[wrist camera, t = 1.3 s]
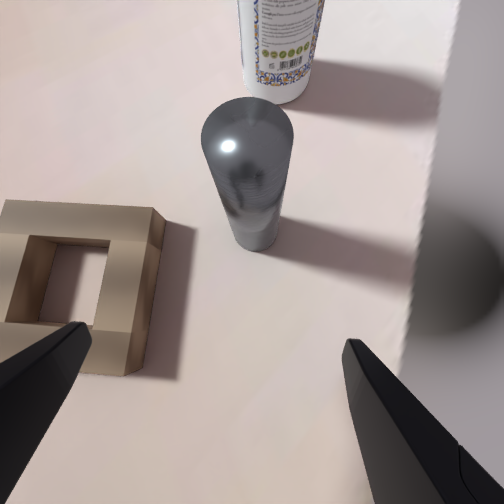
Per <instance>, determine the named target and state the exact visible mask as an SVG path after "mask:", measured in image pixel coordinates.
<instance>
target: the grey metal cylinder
mask: <svg viewBox="0 0 504 504" xmlns="http://www.w3.org/2000/svg"><path fill="white" fill-rule="evenodd" d="M293 138H294V135H293V127H292V124H291V122H290V120H289V118H288V116H287V115H286V113H285V112H284V111H283V110H282V109H281V108H280V107H278V106H277V105H275V104H274V103H272V102H270V101H268V100H265V99H261V98H256V97H242V98H237V99H233V100H230V101H227V102H225V103H223V104H222V105H220V106H219V107H217V108H216V109H215V110H214V111H213V112H212V113H211V114H210V115H209V117H208V118H207V119H206V121H205V123H204V126H203V128H202V133H201V145H202V149H203V152H204V155H205V157H206V160H207V163H208V166H209V168H210V171H211V174H212V177H213V179H214V182H215V185H216V187H217V190H218V193H219V196H220V198H221V201H222V204H223V207H224V209H225V212H226V215H227V217H228V220H229V223H230V226H231V228H232V231H233V234H234V237H235V239H236V241H237V243H238V244H239V245H240V246H241V247H243V248H244V249H246V250H249V251H261V250H264V249H266V248H268V247H269V246H270V245H271V244H272V243H273V242H274V240H275V238H276V235H277V230H278V224H279V219H280V213H281V207H282V202H283V196H284V190H285V185H286V179H287V173H288V168H289V162H290V156H291V151H292V145H293Z"/></svg>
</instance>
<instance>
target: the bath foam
mask: <svg viewBox="0 0 504 504" xmlns="http://www.w3.org/2000/svg"><path fill="white" fill-rule="evenodd" d="M324 2H325V0H237V10H238V22H239V35H240V47H241V59H242V69H243V79H244V84H245V86H246V88H247V90H248V92H249V93H250V94H251V95H252V96H253V97H256V98H261V99H265V100H268V101H270V102H272V103H274V104H283V103H287V102H290V101H292V100H294V99H295V98H297V97H298V96H299V95H300V94H301V93H302V92H303V91H304V90H305V88H306V86H307V84H308V81H309V77H310V72H311V67H312V62H313V57H314V52H315V47H316V42H317V37H318V32H319V27H320V22H321V17H322V12H323V7H324Z"/></svg>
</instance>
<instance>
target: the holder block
mask: <svg viewBox="0 0 504 504" xmlns="http://www.w3.org/2000/svg"><path fill="white" fill-rule="evenodd" d="M165 224H166V220H165V219H164V218H163V217H162V216H161V215H160V214H159V213H158V212H157V211H156V210H155V209H154V208H153V207H136V206H118V205H99V204H80V203H62V202H43V201H25V200H5V203H4V206H3V209H2V212H1V216H0V363H1V362H3V361H4V360H6V359H8V358H10V357H11V356H13V355H15V354H17V353H18V352H20V351H22V350H23V349H25V348H27V347H29V346H30V345H32V344H34V343H35V342H37V341H39V340H41V339H42V338H44V337H46V336H48V335H49V334H51V333H53V332H54V331H56V330H58V329H60V328H61V327H63V326H65V325H66V324H67V323H54V322H42V321H38V318H39V314H40V310H41V306H42V302H43V298H44V294H45V290H46V286H47V283H48V279H49V275H50V271H51V267H52V263H53V259H54V255H55V251H56V248H57V244H60V245H76V246H92V247H108V248H109V251H108V256H107V261H106V266H105V271H104V275H103V280H102V285H101V290H100V295H99V299H98V304H97V309H96V314H95V319H94V323H93V326H91V325H87V327H88V329H89V332H90V334H91V336H92V344H91V347H90V349H89V351H88V353H87V356H86V358H85V360H84V362H83V364H82V366H81V369H80V371H79V372H81V373H92V374H103V375H114V376H125V375H128V374H130V373H132V372H134V371H137V370H139V369H141V368H143V362H144V355H145V349H146V343H147V336H148V330H149V324H150V318H151V311H152V305H153V299H154V293H155V286H156V280H157V274H158V268H159V261H160V255H161V249H162V242H163V236H164V230H165Z"/></svg>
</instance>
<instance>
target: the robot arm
mask: <svg viewBox="0 0 504 504" xmlns="http://www.w3.org/2000/svg"><path fill="white" fill-rule="evenodd" d="M91 344H92V336H91V334H90V332H89V329H88V327H87V325H86V323H84V322H76V321H74V322H70V323H68V324H66V325H65V326H63V327H61V328H60V329H58V330H56V331H54V332H53V333H51V334H49V335H48V336H46V337H44V338H42V339H41V340H39V341H37V342H35V343H34V344H32V345H30V346H29V347H27V348H25V349H23V350H22V351H20V352H18V353H17V354H15V355H13V356H11V357H10V358H8V359H6V360H4V361H3V362H1V363H0V504H5V502H6V501H7V499H8V497H9V496H10V494H11V492H12V490H13V489H14V487H15V485H16V483H17V482H18V480H19V478H20V477H21V475H22V473H23V471H24V470H25V468H26V466H27V464H28V463H29V461H30V459H31V457H32V456H33V454H34V452H35V451H36V449H37V447H38V445H39V444H40V442H41V440H42V438H43V437H44V435H45V433H46V431H47V430H48V428H49V426H50V425H51V423H52V421H53V419H54V418H55V416H56V414H57V412H58V411H59V409H60V407H61V405H62V404H63V402H64V400H65V399H66V397H67V395H68V393H69V391H70V390H71V388H72V386H73V384H74V382H75V380H76V377H77V375H78V373H79V371H80V369H81V366H82V364H83V362H84V360H85V358H86V356H87V353H88V351H89V349H90V347H91ZM342 365H343V371H344V378H345V384H346V390H347V397H348V403H349V408H350V412H351V416H352V420H353V424H354V428H355V431H356V435H357V439H358V443H359V446H360V450H361V454H362V458H363V461H364V465H365V469H366V472H367V476H368V480H369V484H370V487H371V491H372V495H373V499H374V502H375V504H504V489H503V487H502V486H500V485H499V484H498V483H497V482H496V481H495V480H494V479H493V478H492V477H491V476H490V474H488V472H487V471H486V470H485V469H484V468H483V467H482V466H481V465H480V464H479V463H478V462H477V461H476V460H475V459H474V458H473V457H472V456H471V455H470V454H469V453H468V452H467V451H466V450H465V449H464V448H463V447H462V446H461V445H459V444H458V441H457V440H456V439H455V438H454V437H453V436H452V435H451V434H450V433H449V432H448V431H447V430H446V429H445V428H444V427H443V426H442V425H441V424H440V422H439V421H438V420H437V419H436V418H435V417H434V416H433V415H432V414H431V413H430V412H429V411H428V410H427V409H426V408H425V407H424V406H423V405H422V404H421V402H420V401H419V400H418V399H417V398H416V397H415V396H414V395H413V394H412V393H411V392H410V391H409V390H408V389H407V388H406V387H405V386H404V385H403V384H402V383H401V381H400V380H399V379H398V378H397V377H396V376H395V375H394V374H393V373H392V372H391V371H390V370H389V369H388V368H387V367H386V366H385V365H384V364H383V363H382V361H381V360H380V359H379V358H378V357H377V356H376V355H375V354H374V353H373V352H372V351H371V350H370V349H369V348H368V347H367V346H366V345H365V344H364V343H363V342H362V341H361V340H360V339H351V338H349V339H347V340H346V343H345V346H344V350H343V353H342Z"/></svg>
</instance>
